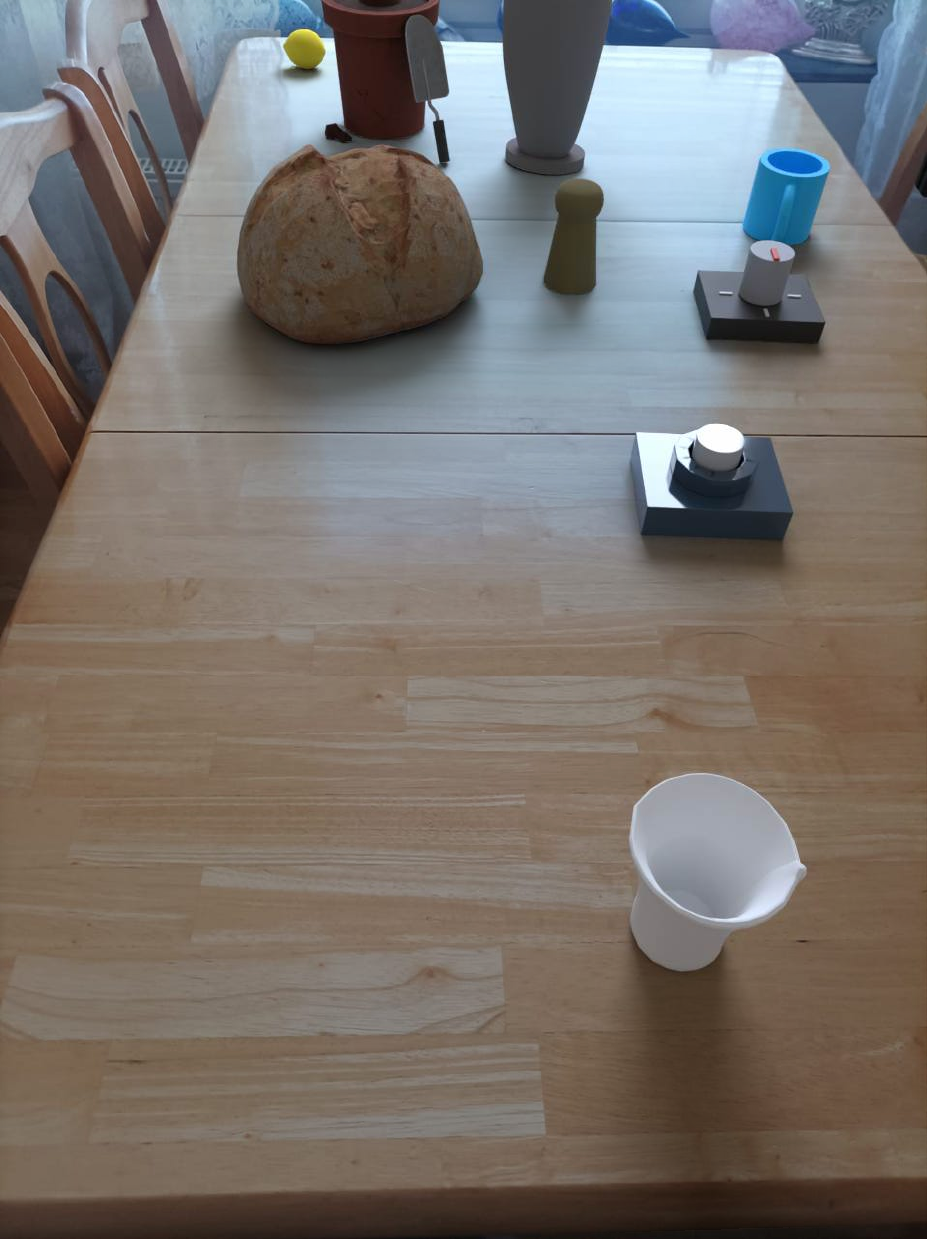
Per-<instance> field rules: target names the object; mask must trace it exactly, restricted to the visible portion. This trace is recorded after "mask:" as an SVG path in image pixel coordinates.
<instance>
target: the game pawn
mask: <svg viewBox="0 0 927 1239" xmlns="http://www.w3.org/2000/svg"><path fill="white" fill-rule="evenodd" d="M604 202H605V195H604V191H603V188H602V186H600V185H599V184H598V183H597V182H595V181H593V180H591V179H587V178H582V177H581V178H580V177H579V178H578V177H576V178H571V179H567V180H565V181H563V182H561V184H560V185H559V186H558V188H557V190H556V192H555V195H554V206H555V210H556V212H557V214H558V215H557V219H556V222H555V223H556V224H555V227H554V231H553V236H552V239H551V244H550V247H549V248H550V249H549V253H548V257H547V260H546V265H545V269H544V273H543V278H542V280H543V284H544V285H545V287H546V288H548V289H549V290H551V291H553V292H555V293H558V294H563V295H570V296H571V295H572V296H577V295H583V294H586V293H589V292H592V290H594V289H595V287H596V285H597V217H598V216H600V214H601V212H602V209H603V207H604Z"/></svg>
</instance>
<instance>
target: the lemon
mask: <svg viewBox="0 0 927 1239" xmlns="http://www.w3.org/2000/svg"><path fill="white" fill-rule="evenodd" d="M324 44H325V43H324V42H323V40H322V38H321V37H320V36H319V34H318V33H316V32H315V31H313V30H311V29H308V28H299V29H296V30H295V31H292V32H291V33H290V34H289V35H288V37H287V38H286V40H285V41H284V42H283V45H282V48H283V50H284V52H285V54H286V56H287V57H288V59H289V60H290V62H291V63H292V64H294V65H295V66H296V67H298V68H300V69H305V70H311V69H314V68H316V67H317V66H319V65H320V64H321V63H322V61H323V60H324V58H325V55H326V47H325V45H324Z"/></svg>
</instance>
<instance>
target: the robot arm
mask: <svg viewBox="0 0 927 1239" xmlns="http://www.w3.org/2000/svg"><path fill="white" fill-rule="evenodd" d="M925 53H926V54H925V55H927V45H926V47H925ZM914 186H915V188H916V189H917V191H918V192H919V194H920V195H921V197H922V198H927V151H926V152H925V155H924V157H923V160H922V163H921V165H920V167H919V170H918V172H917V175H916V179H915V181H914Z"/></svg>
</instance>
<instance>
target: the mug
mask: <svg viewBox="0 0 927 1239" xmlns="http://www.w3.org/2000/svg"><path fill="white" fill-rule="evenodd" d="M830 170H831V165H830V162H829V161H828V160H827V159H826V158H824V157H823V156H820V155H819V154H817V153H814V152H811V151H809V150H805V149H799V148H790V147H779V148H772V149H767V150H766V151H764V152H762V153H761V155H760V156H759V159H758V163H757V168H756V171H755V175H754V179H753V183H752V187H751V191H750V194H749V199H748V202H747V206H746V210H745V214H744V218H743V221H742V229H743V231H744V232H745V233H746V234H747V235H748V236H750V237H751V238H753V239H755V240H756V241H764V240H770V241H777V242H781V243H784V244H786V245H788V246H795V245H798V244H799V245H800V244H801V243H804V242H805V241H807V240H808V238H809V236H810V233H811V231H812V227H813V223H814V220H815V217H816V215H817V211H818V208H819V205H820V201H821V197H822V196H823V192H824V189H825V186H826V182H827V180H828V176H829V172H830Z"/></svg>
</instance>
